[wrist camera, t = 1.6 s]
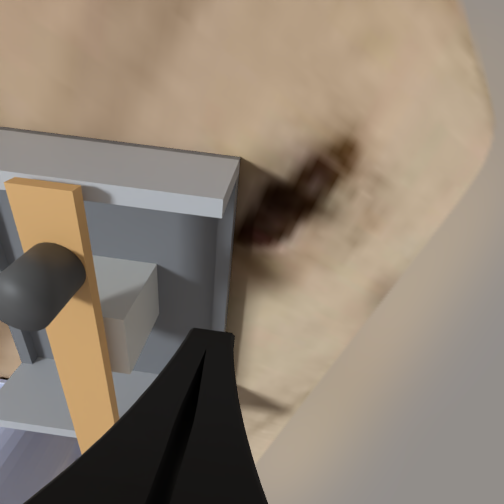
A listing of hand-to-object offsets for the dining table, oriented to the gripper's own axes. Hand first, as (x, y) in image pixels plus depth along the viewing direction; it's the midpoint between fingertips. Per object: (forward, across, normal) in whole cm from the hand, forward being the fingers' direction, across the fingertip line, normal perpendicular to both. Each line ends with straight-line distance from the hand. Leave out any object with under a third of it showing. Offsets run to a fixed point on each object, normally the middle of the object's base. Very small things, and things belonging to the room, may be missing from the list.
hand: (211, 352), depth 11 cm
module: (+9, +7, +6) cm, 13 cm away
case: (+10, +8, +6) cm, 14 cm away
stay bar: (+4, +7, +5) cm, 10 cm away
